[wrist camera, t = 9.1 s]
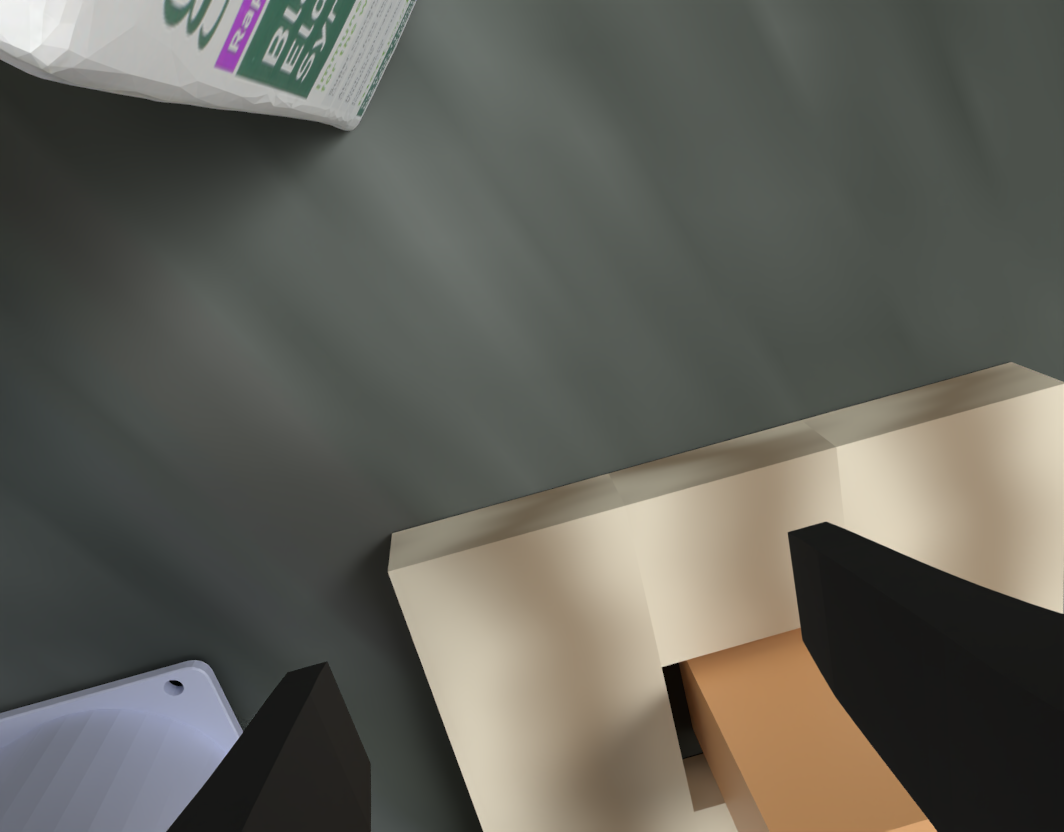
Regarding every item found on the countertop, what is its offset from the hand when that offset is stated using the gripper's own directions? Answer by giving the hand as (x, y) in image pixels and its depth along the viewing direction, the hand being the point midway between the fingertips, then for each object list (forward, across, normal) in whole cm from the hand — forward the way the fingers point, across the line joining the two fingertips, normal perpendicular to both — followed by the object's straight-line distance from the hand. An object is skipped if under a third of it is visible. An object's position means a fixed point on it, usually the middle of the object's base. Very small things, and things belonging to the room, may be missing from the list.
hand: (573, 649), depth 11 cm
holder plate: (+9, -5, +10) cm, 15 cm away
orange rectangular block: (+9, -5, +10) cm, 14 cm away
